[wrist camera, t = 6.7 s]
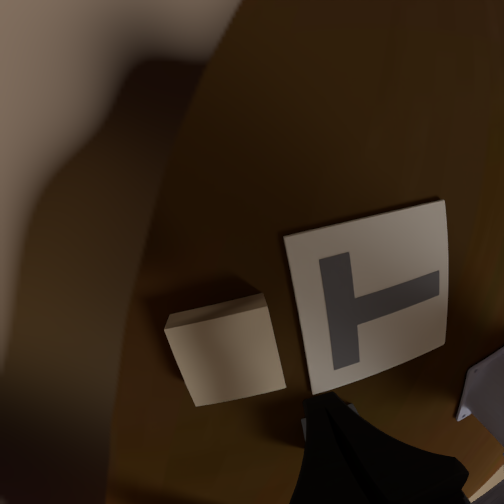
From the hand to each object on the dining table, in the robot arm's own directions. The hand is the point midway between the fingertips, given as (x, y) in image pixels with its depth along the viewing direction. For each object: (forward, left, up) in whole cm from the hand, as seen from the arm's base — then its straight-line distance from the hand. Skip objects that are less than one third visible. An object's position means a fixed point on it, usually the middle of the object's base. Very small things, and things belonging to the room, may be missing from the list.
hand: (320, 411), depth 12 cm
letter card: (-7, 0, -8) cm, 11 cm away
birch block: (+4, 0, -9) cm, 9 cm away
